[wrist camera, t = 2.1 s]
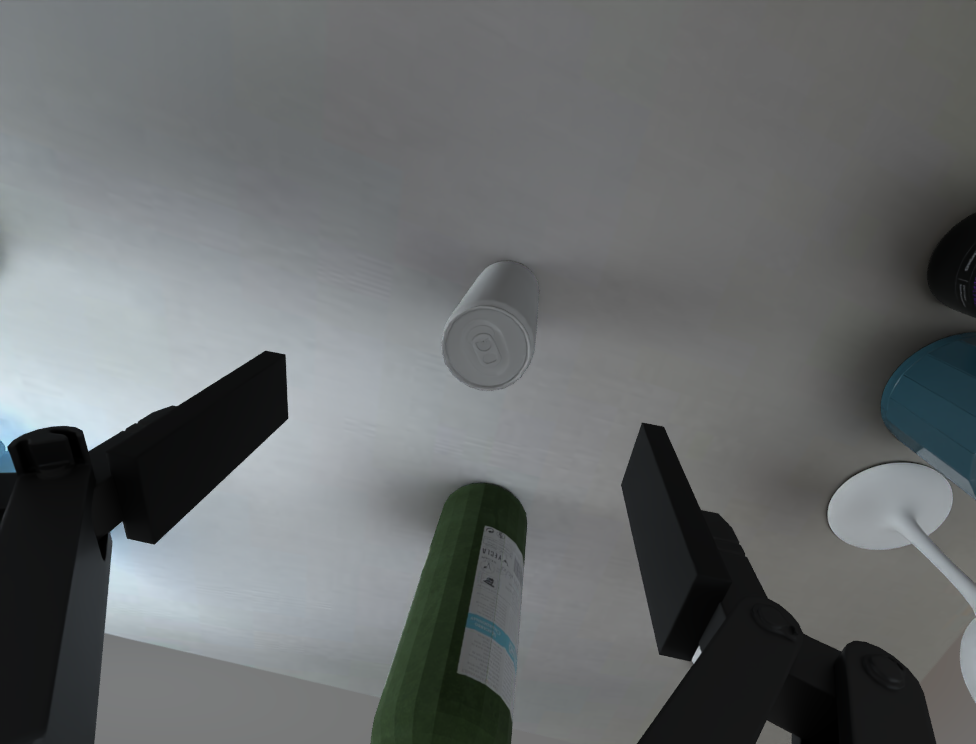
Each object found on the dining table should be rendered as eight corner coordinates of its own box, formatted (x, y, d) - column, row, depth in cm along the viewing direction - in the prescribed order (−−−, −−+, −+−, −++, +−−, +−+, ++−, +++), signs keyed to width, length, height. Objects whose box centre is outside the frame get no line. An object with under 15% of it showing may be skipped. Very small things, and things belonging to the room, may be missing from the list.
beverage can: (526, 248, 32) (512, 288, 21) (549, 310, 34) (548, 376, 23) (465, 273, 33) (422, 323, 23) (490, 332, 35) (462, 404, 24)
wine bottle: (427, 516, 43) (215, 1100, 16) (476, 465, 40) (315, 1082, 13) (492, 560, 44) (397, 1173, 17) (545, 514, 41) (529, 1173, 14)
